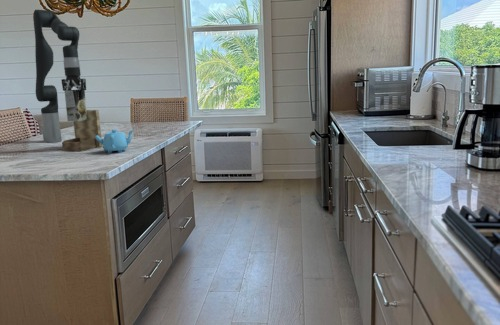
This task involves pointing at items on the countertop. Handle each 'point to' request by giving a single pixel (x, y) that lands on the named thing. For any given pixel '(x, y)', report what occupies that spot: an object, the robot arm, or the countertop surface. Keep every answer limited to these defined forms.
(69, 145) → the brown open box
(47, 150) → the countertop surface
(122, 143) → the teapot
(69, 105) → the coffee box
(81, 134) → the wall board
